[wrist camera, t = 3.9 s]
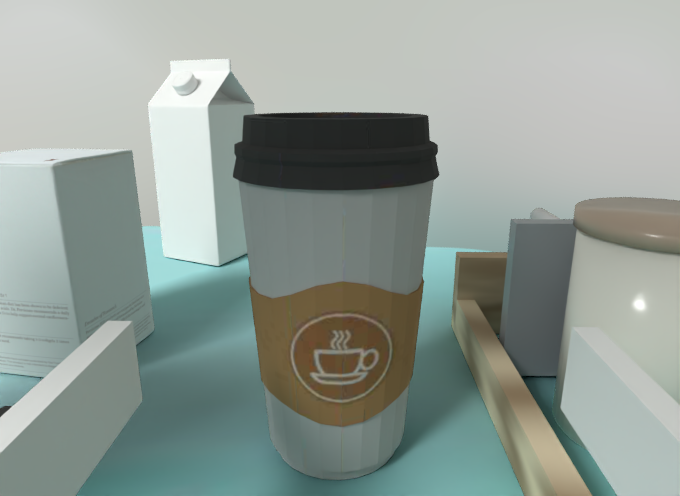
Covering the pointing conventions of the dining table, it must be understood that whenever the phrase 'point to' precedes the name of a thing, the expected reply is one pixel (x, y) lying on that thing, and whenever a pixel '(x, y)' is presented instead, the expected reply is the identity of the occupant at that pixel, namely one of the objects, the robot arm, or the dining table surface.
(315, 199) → the coffee cup
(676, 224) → the cream jar
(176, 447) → the dining table surface
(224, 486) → the dining table surface
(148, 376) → the dining table surface
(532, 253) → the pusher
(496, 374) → the lane
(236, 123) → the milk carton
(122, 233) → the supplement box
